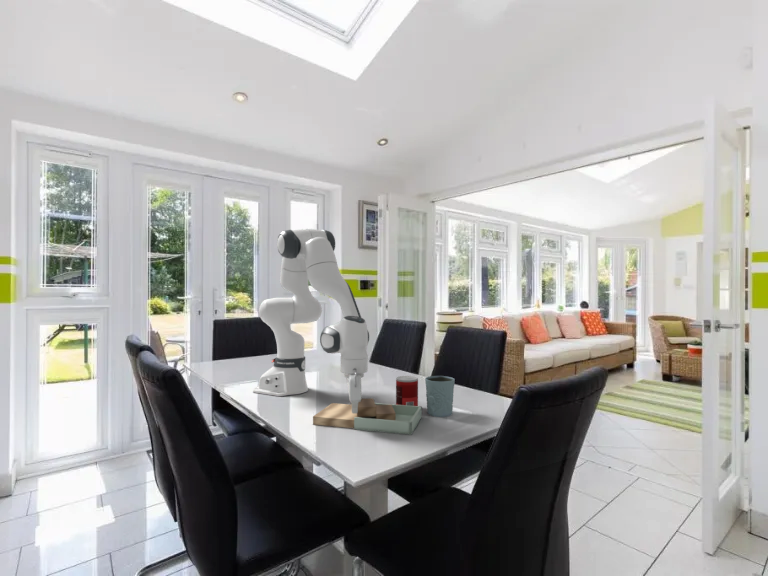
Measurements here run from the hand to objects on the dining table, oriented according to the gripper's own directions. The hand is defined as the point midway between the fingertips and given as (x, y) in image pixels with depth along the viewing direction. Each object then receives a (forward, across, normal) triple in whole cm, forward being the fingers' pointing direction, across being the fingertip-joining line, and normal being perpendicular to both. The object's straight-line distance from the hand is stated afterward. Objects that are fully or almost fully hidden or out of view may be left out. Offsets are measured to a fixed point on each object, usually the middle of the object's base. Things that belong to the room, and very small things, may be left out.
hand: (353, 408), depth 137 cm
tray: (+4, -4, -11) cm, 12 cm away
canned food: (+4, +11, -20) cm, 23 cm away
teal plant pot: (+4, +5, -30) cm, 31 cm away
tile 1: (+1, 0, -4) cm, 4 cm away
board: (+4, +2, +4) cm, 5 cm away
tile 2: (+3, -1, -10) cm, 10 cm away
